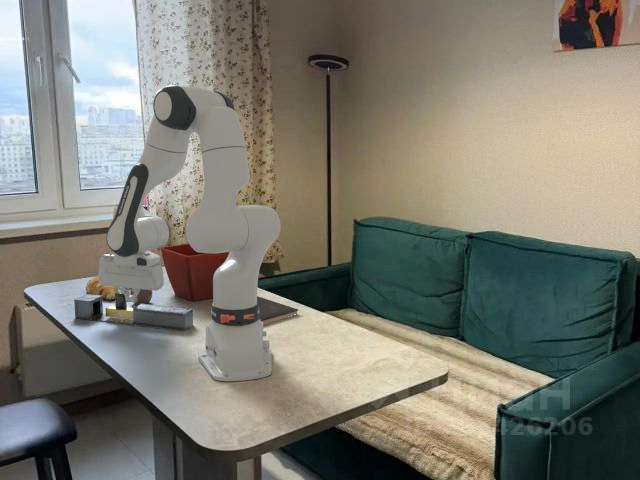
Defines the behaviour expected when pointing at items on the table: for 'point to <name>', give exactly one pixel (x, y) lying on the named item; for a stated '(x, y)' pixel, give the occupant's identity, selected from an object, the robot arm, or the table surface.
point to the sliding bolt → (119, 308)
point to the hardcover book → (273, 310)
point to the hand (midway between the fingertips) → (131, 301)
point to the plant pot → (191, 270)
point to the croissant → (100, 289)
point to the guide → (136, 314)
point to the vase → (143, 296)
